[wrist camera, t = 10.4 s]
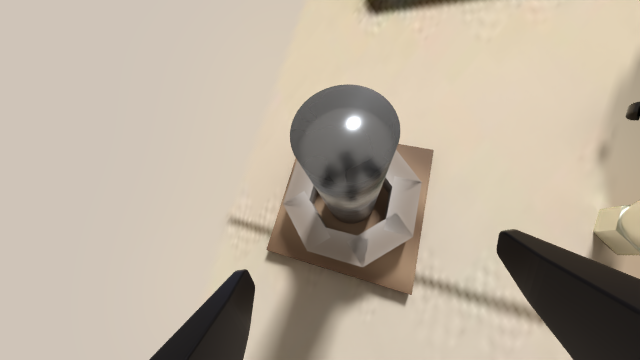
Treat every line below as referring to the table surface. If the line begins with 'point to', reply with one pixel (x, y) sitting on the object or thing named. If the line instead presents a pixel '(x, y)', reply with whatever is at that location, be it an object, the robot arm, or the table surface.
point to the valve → (621, 217)
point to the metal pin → (346, 147)
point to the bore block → (359, 225)
